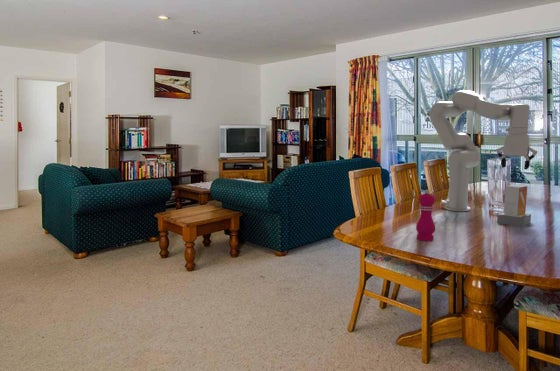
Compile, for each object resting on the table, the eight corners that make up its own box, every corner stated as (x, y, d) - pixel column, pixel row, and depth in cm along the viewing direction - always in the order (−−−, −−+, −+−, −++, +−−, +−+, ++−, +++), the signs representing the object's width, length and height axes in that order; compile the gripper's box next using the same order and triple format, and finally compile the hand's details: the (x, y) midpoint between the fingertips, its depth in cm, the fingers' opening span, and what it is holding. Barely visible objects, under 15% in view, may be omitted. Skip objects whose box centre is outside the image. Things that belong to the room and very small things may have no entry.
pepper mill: (418, 236, 176) (420, 187, 173) (436, 238, 172) (439, 189, 169) (413, 239, 170) (415, 190, 167) (431, 242, 166) (434, 191, 163)
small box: (517, 216, 193) (519, 187, 191) (503, 213, 198) (505, 185, 196) (525, 213, 198) (527, 185, 196) (511, 211, 203) (513, 184, 201)
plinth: (497, 222, 198) (497, 214, 197) (504, 219, 206) (505, 210, 205) (523, 226, 190) (524, 217, 190) (530, 222, 198) (531, 213, 198)
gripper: (495, 130, 201) (492, 167, 204) (536, 132, 189) (532, 170, 192) (501, 130, 206) (497, 166, 209) (541, 131, 194) (537, 169, 197)
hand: (514, 168), depth 200 cm, fingers open, 9 cm apart
